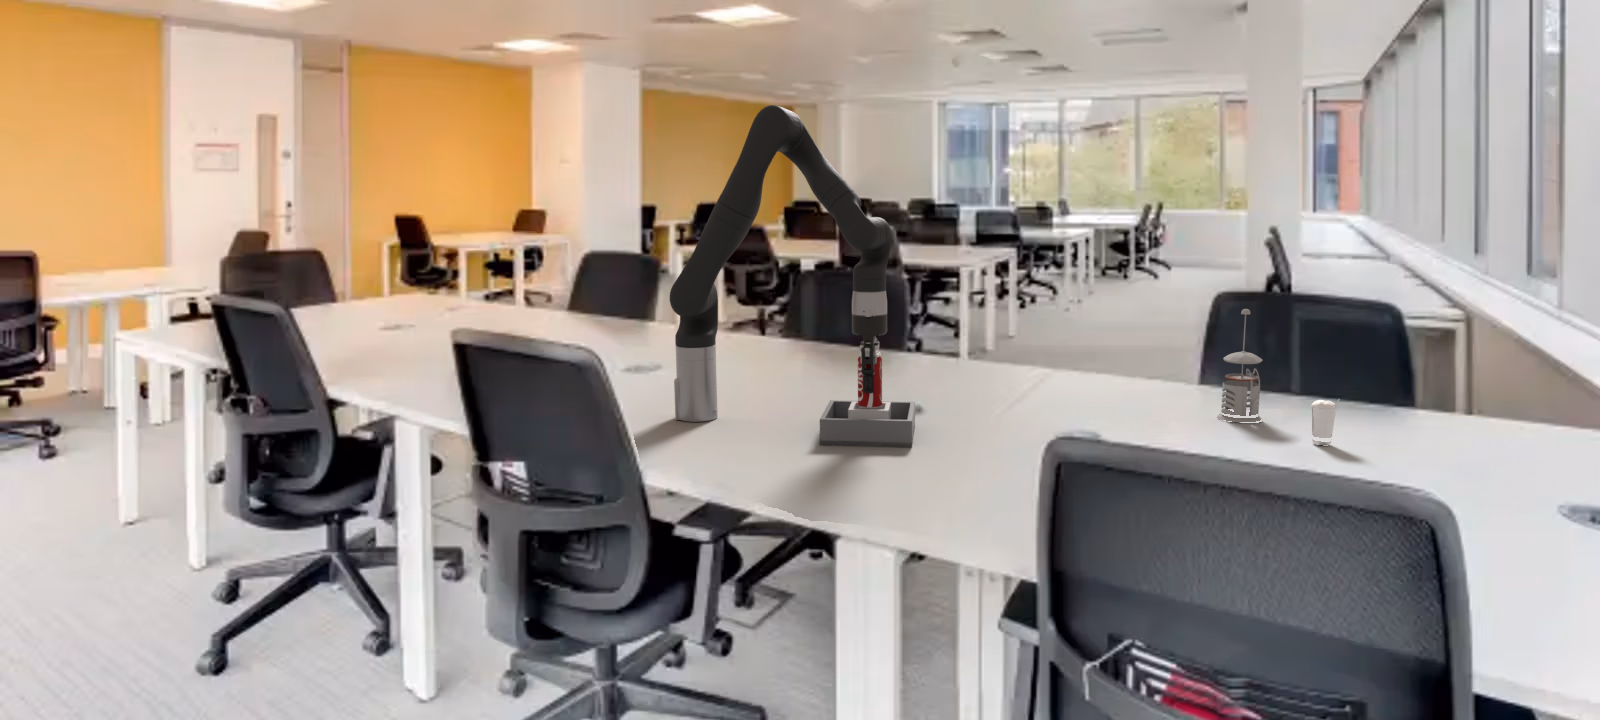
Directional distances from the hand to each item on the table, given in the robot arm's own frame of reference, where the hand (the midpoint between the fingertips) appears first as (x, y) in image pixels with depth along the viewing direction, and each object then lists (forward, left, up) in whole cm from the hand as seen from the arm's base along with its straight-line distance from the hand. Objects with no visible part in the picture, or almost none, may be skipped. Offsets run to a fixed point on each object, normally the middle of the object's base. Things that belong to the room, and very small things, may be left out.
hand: (869, 389), depth 222 cm
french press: (+82, +20, -10) cm, 85 cm away
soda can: (0, 0, -4) cm, 4 cm away
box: (0, -2, -10) cm, 10 cm away
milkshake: (+92, -2, -10) cm, 93 cm away
